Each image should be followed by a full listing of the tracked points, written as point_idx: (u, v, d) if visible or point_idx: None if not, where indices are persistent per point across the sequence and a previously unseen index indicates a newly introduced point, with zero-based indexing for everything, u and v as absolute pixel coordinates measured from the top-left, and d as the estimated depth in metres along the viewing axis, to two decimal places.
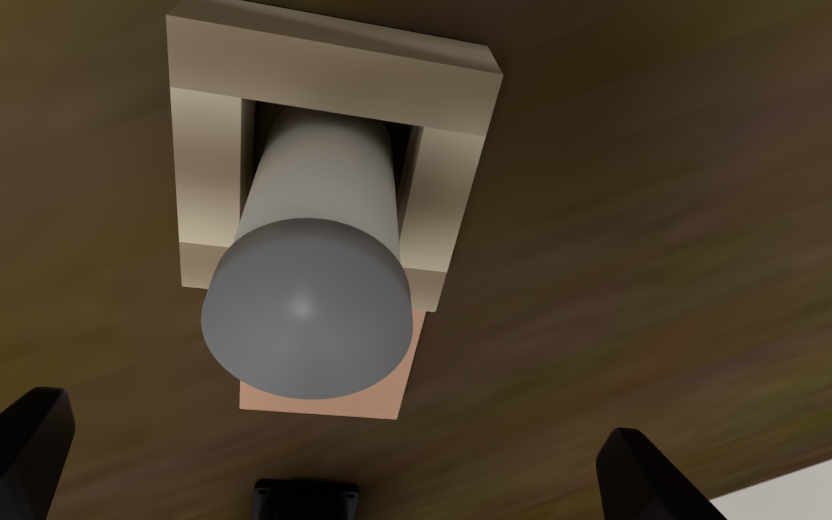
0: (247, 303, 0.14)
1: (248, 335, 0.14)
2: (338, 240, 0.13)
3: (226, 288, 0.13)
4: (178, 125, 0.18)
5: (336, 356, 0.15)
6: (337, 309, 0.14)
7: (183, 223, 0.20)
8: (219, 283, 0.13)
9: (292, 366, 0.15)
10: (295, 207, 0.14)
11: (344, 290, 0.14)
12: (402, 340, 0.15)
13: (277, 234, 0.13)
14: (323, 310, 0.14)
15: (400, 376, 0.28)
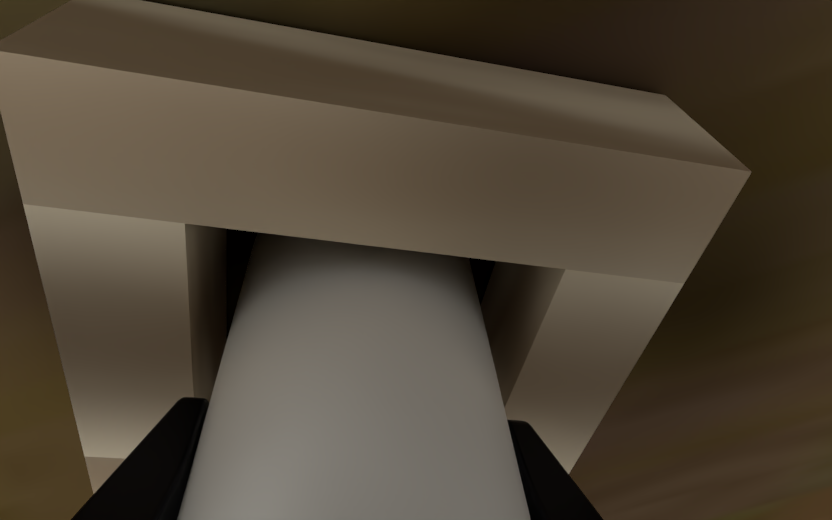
0: None
1: None
2: None
3: None
4: (53, 276, 0.08)
5: None
6: None
7: (88, 430, 0.11)
8: None
9: None
10: None
11: None
12: None
13: None
14: None
15: None
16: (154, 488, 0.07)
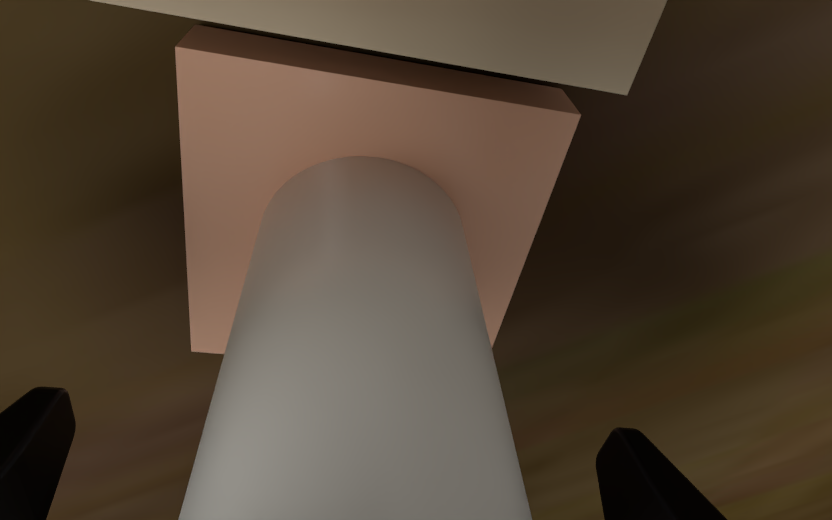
0: None
1: None
2: None
3: None
4: None
5: None
6: None
7: None
8: None
9: None
10: None
11: None
12: None
13: None
14: None
15: (501, 286, 0.14)
16: None
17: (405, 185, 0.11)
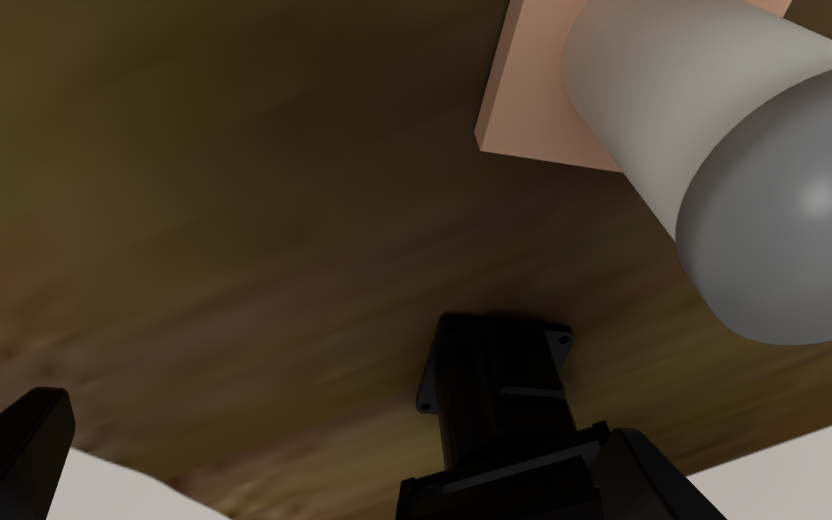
0: (808, 187, 0.09)
1: (773, 241, 0.10)
2: None
3: (796, 160, 0.09)
4: None
5: None
6: None
7: None
8: (793, 150, 0.09)
9: (797, 293, 0.10)
10: (829, 58, 0.10)
11: None
12: None
13: None
14: None
15: None
16: None
17: None
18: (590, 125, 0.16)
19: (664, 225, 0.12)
